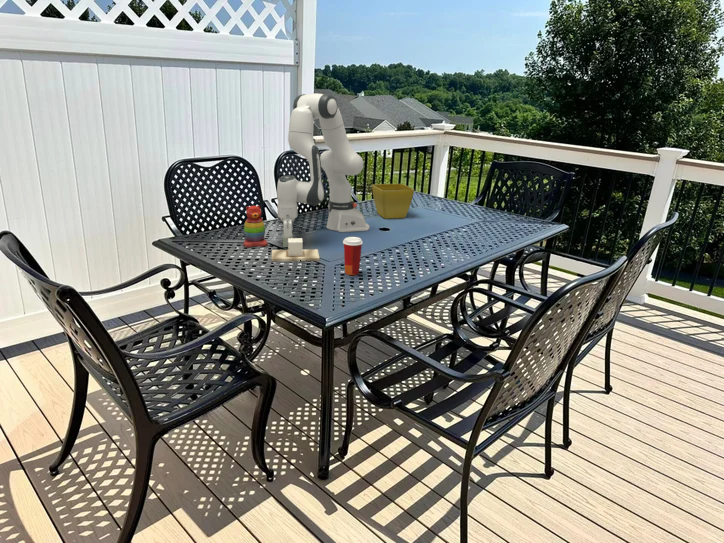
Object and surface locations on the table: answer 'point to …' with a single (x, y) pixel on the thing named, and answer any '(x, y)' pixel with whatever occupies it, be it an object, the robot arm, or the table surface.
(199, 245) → the table surface
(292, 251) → the cream block
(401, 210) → the flower pot
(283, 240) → the sage cube
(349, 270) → the paper cup
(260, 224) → the stacking bear
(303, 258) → the base board
